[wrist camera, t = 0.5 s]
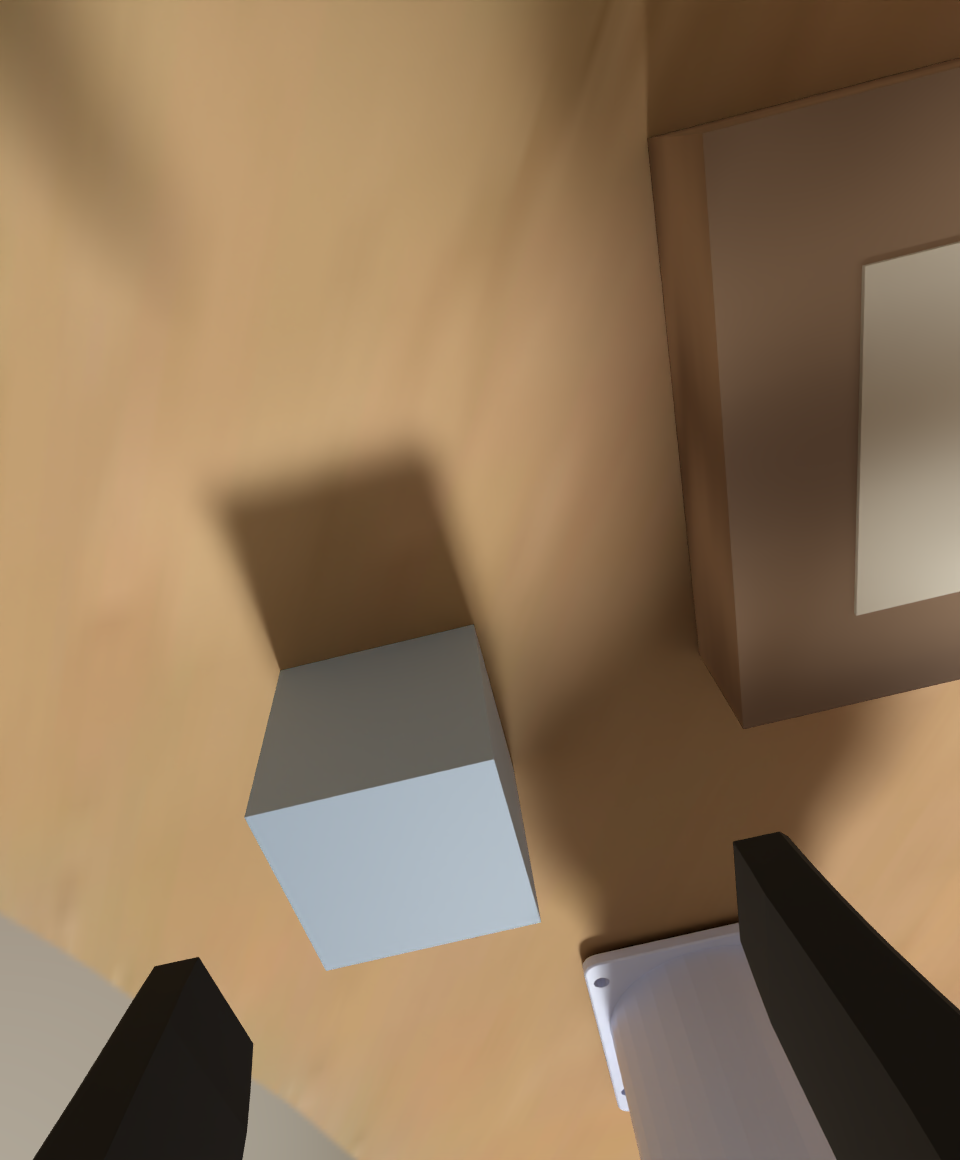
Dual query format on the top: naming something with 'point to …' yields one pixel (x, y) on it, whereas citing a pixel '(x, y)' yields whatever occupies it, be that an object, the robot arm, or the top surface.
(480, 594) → the top surface
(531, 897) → the cube
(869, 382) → the base
